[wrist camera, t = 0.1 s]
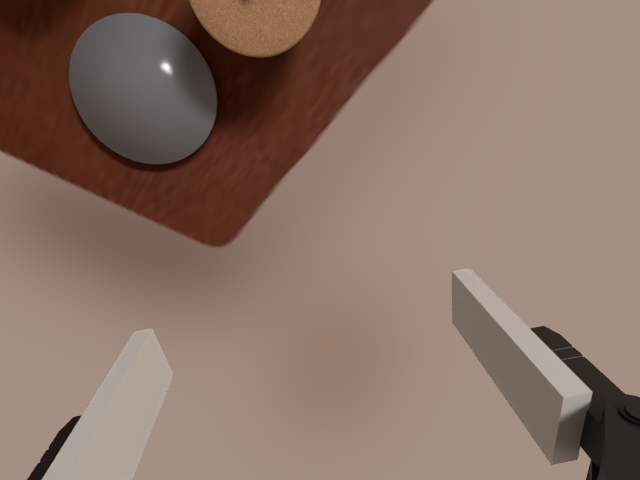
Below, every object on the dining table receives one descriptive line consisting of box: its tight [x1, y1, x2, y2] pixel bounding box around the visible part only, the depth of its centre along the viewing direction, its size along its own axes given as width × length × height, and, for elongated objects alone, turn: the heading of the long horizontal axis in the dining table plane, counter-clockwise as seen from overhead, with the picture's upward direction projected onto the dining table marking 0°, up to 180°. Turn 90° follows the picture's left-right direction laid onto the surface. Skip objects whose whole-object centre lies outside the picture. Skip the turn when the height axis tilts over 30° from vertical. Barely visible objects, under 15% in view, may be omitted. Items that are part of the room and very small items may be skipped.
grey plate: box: [69, 13, 218, 164], centre depth 35 cm, size 14×14×1 cm
